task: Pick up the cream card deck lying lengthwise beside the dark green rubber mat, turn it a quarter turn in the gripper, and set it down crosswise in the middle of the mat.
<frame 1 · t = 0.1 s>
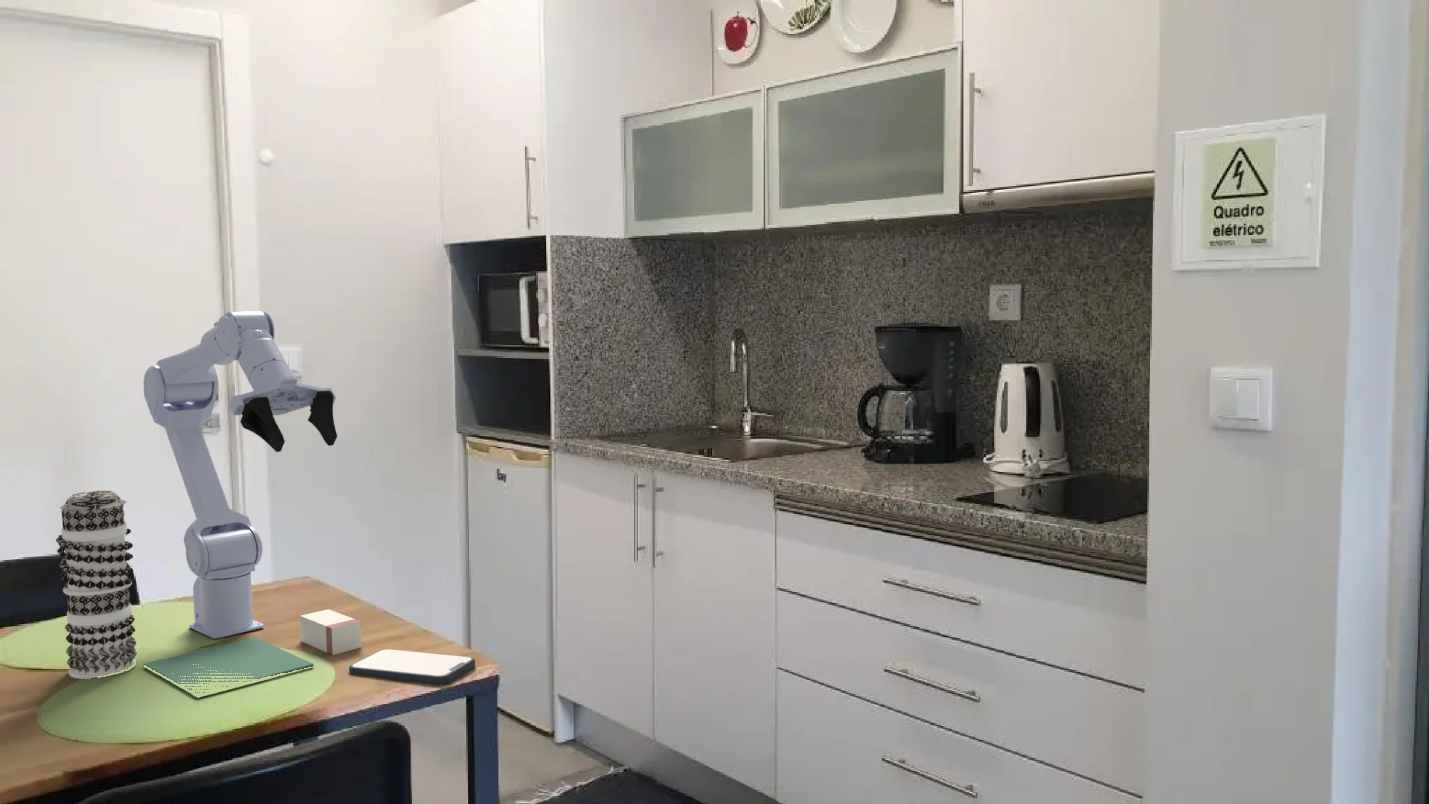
hand: (307, 443, 153), 32 cm above the table, tool tilted 50°, fingers open, 7 cm apart
card mat: (228, 667, 157), on the table
card deck: (331, 644, 167), on the table
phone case: (412, 673, 156), on the table
decorative candle: (103, 670, 157), on the table
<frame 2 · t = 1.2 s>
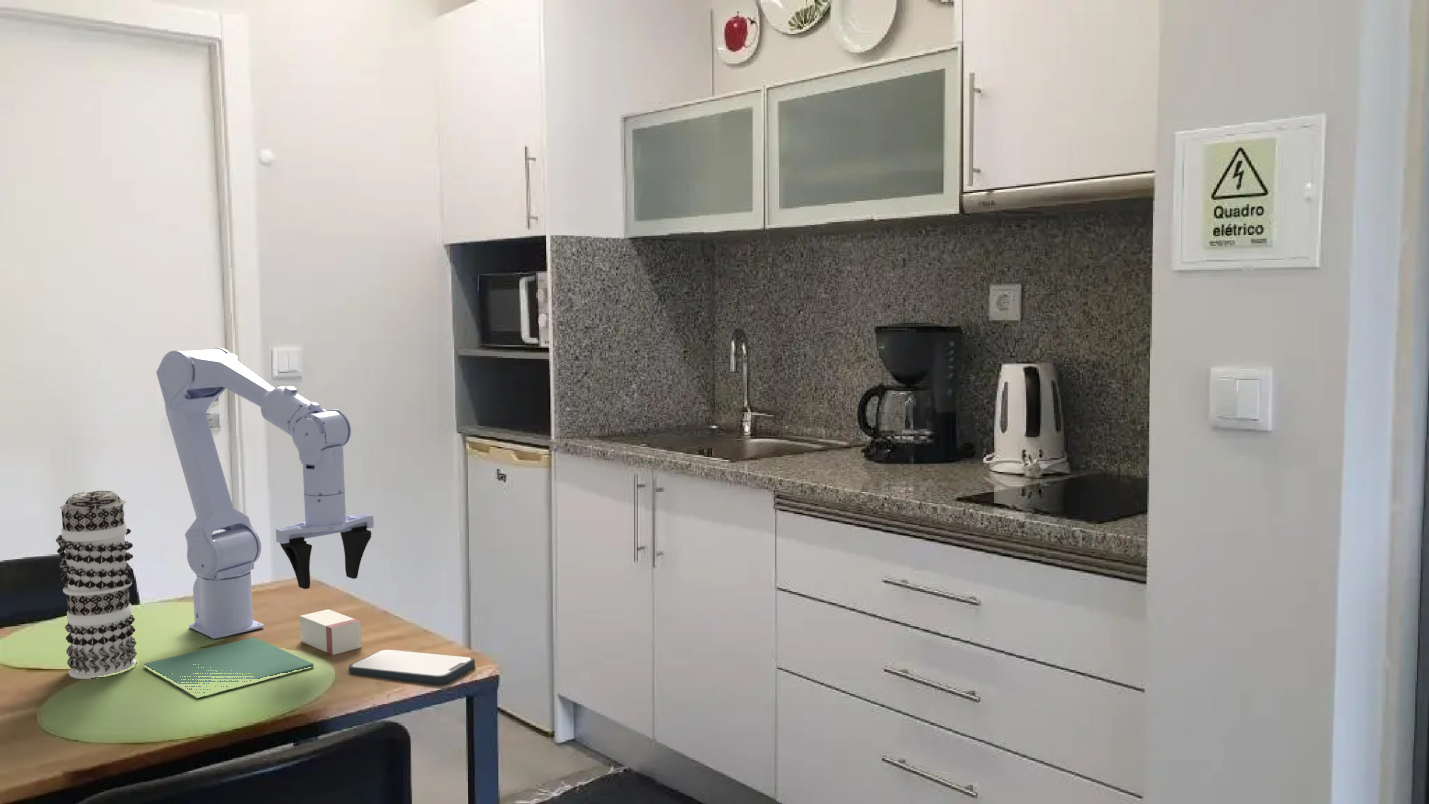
hand: (328, 582, 166), 9 cm above the table, tool pointing down, fingers open, 7 cm apart
nothing on the table moved.
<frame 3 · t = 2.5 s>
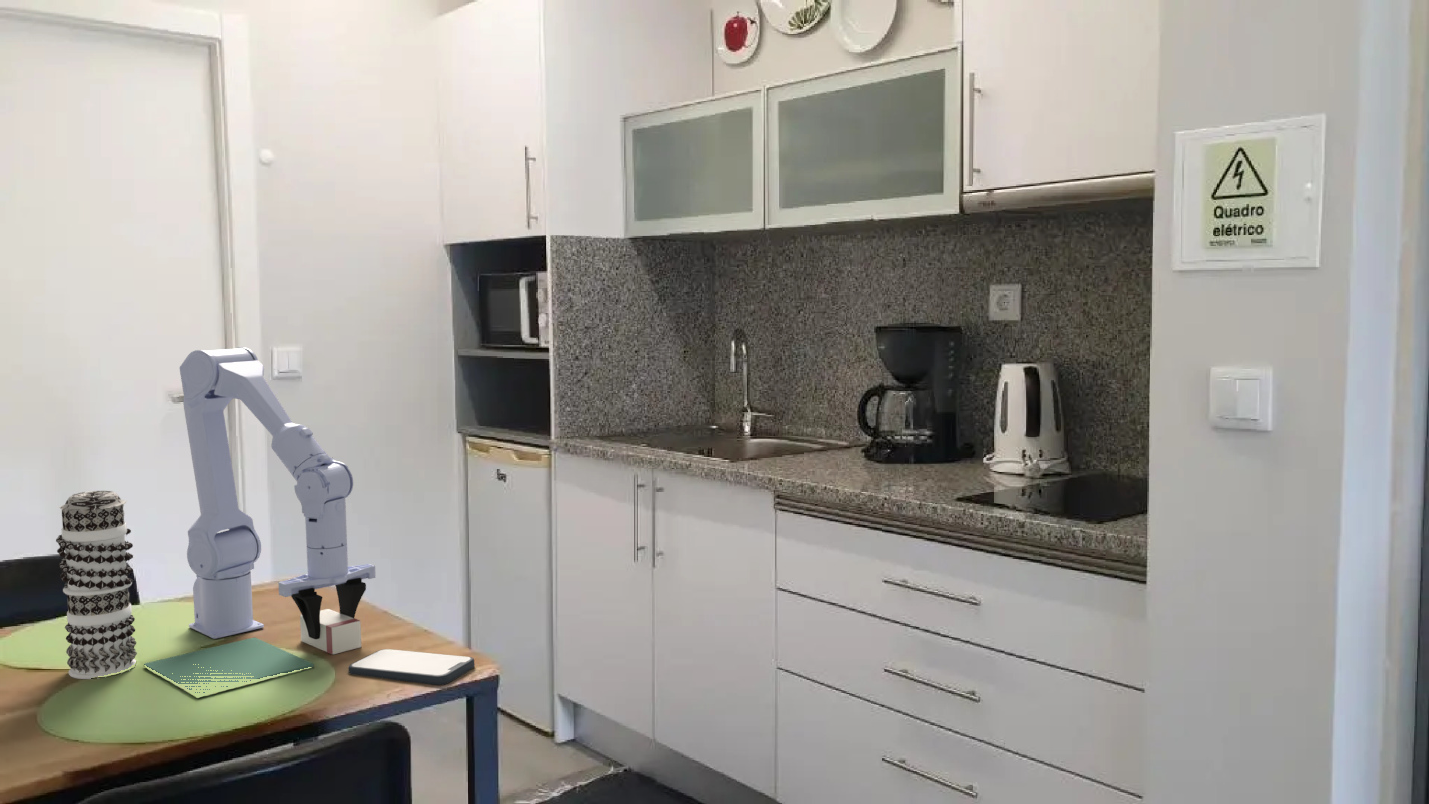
hand: (330, 633, 167), 2 cm above the table, tool pointing down, fingers closed on card deck, 5 cm apart
card deck: (331, 644, 167), on the table, touching gripper
everything else where it was.
when the fingers open (3 cm above the table, at t = 6.7 s): card deck stays where it is, resting on card mat.
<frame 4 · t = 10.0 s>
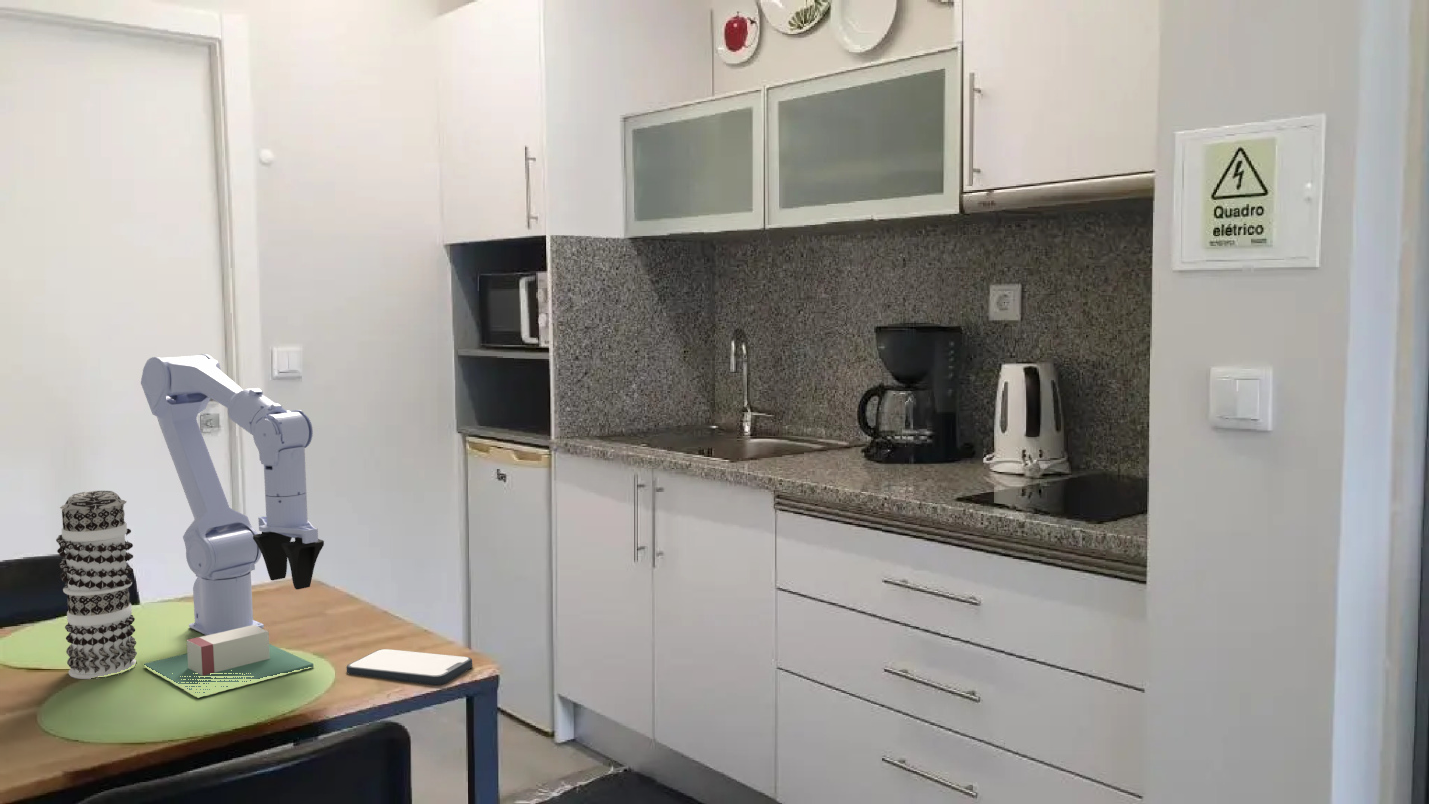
hand: (290, 583, 166), 9 cm above the table, tool pointing down, fingers open, 7 cm apart
card deck: (229, 663, 157), point 1 cm above the table, touching card mat
everything else where it was.
at the end: card deck inside the target area on the card mat (0.2 cm from its centre), point 0.6 cm above the card mat's base; card deck tilted 0°; the gripper is holding nothing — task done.
